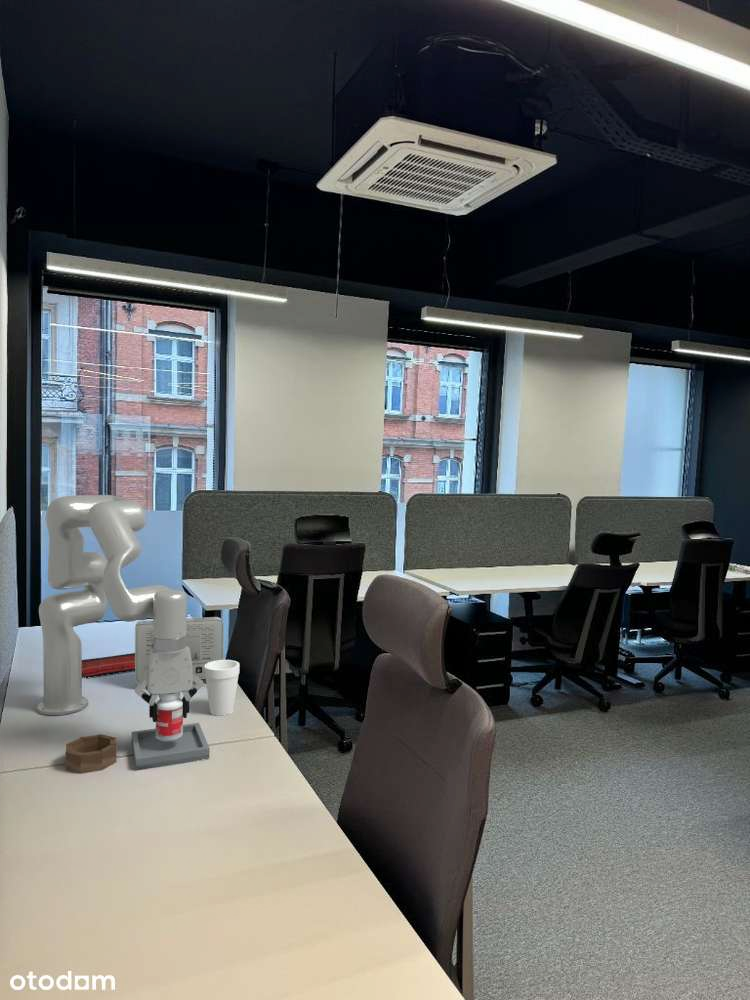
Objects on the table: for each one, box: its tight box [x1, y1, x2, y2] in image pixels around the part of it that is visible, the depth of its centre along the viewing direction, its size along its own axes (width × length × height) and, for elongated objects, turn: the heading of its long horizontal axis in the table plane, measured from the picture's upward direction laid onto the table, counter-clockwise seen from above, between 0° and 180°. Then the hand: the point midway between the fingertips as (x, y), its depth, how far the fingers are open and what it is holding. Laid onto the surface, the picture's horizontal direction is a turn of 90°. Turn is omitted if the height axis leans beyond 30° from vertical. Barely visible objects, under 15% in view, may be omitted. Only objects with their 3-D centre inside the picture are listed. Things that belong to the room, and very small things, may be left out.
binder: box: [82, 652, 135, 679], centre depth 216 cm, size 16×2×21 cm
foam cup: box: [205, 659, 241, 716], centre depth 180 cm, size 10×9×13 cm
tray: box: [130, 722, 211, 771], centre depth 156 cm, size 16×16×2 cm
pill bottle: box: [155, 692, 184, 741], centre depth 155 cm, size 6×6×11 cm
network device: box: [134, 616, 224, 691], centre depth 200 cm, size 26×9×20 cm, turn 108°
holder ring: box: [65, 734, 118, 774], centre depth 149 cm, size 10×10×4 cm
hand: (169, 717), depth 155 cm, fingers closed on pill bottle, 6 cm apart
